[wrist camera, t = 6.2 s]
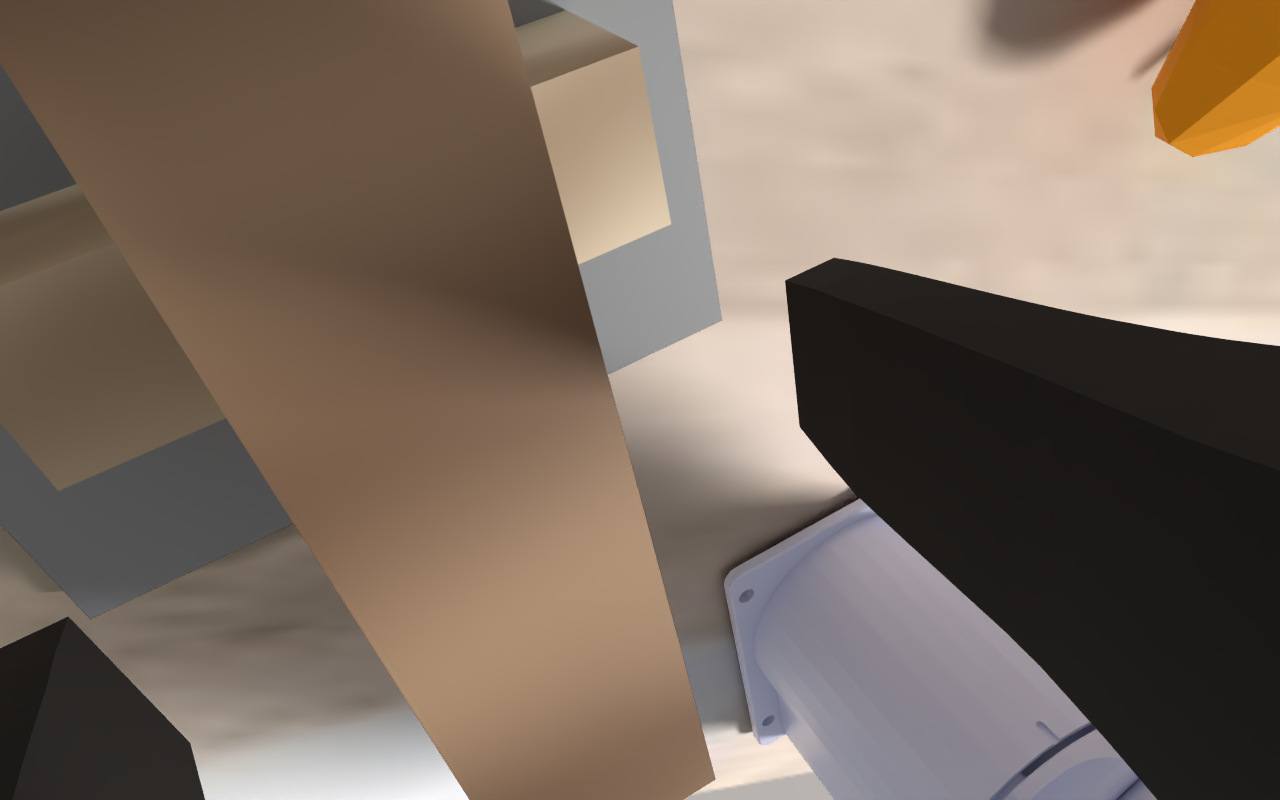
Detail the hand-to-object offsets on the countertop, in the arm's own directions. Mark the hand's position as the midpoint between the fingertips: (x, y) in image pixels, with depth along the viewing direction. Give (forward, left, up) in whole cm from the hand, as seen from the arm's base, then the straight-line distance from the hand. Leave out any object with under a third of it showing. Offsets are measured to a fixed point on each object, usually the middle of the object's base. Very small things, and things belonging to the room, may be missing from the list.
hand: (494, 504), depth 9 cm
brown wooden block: (0, 0, -6) cm, 6 cm away
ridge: (0, 0, -9) cm, 9 cm away
